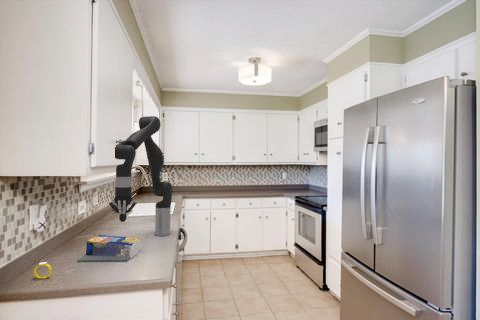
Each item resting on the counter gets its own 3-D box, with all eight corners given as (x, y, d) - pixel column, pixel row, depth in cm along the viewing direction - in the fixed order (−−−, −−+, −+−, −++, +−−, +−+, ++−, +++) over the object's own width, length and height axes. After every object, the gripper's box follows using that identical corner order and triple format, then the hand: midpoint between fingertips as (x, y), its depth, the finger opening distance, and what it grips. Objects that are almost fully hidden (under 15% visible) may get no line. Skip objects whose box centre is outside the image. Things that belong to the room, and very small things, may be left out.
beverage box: (141, 238, 144) (99, 234, 145) (131, 244, 133) (86, 240, 134) (140, 251, 144) (98, 247, 145) (130, 259, 133) (85, 255, 134)
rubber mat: (92, 250, 143) (92, 248, 143) (136, 250, 145) (137, 248, 145) (77, 262, 127) (77, 259, 127) (127, 261, 129) (127, 259, 129)
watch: (32, 280, 108) (31, 265, 108) (37, 277, 111) (36, 262, 111) (49, 278, 109) (48, 263, 109) (53, 275, 112) (52, 261, 112)
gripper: (139, 185, 141) (138, 219, 141) (112, 185, 140) (111, 219, 140) (135, 186, 134) (134, 223, 134) (106, 186, 132) (105, 223, 132)
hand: (122, 221), depth 137 cm, fingers closed
